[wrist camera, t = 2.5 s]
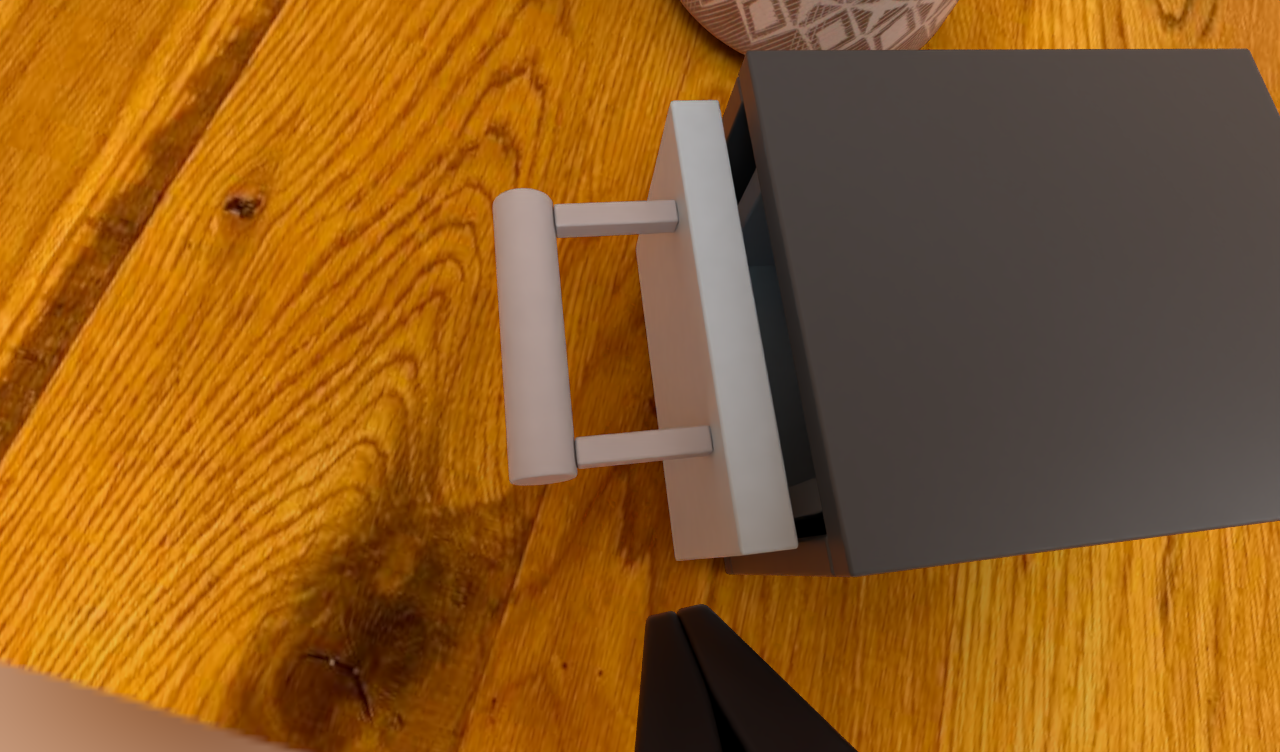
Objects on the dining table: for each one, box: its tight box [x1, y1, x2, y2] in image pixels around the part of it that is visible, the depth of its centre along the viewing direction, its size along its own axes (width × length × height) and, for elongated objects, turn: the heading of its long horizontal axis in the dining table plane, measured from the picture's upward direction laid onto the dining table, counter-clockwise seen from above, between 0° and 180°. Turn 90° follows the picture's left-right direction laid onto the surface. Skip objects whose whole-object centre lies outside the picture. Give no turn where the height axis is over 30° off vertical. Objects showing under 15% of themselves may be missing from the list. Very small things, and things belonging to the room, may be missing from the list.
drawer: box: [493, 100, 824, 561], centre depth 18 cm, size 17×10×7 cm, turn 97°
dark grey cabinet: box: [722, 49, 1280, 577], centre depth 18 cm, size 14×12×9 cm
